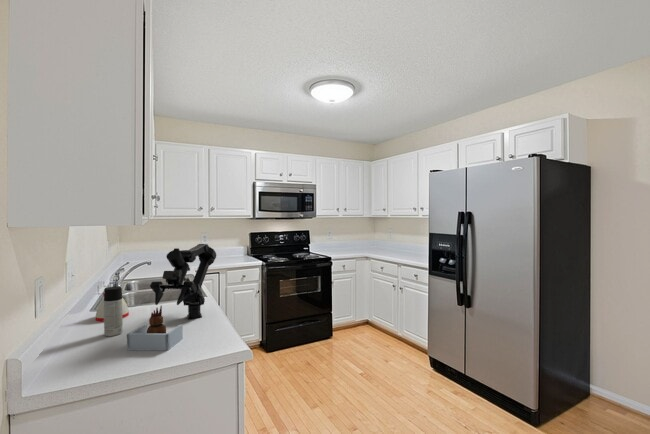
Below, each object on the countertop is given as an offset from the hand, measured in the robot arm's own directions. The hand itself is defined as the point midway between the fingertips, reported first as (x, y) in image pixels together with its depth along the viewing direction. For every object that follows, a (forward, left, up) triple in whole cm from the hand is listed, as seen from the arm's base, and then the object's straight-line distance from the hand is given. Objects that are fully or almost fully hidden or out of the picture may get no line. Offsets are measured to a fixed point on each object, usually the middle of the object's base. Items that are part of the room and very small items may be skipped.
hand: (166, 304), depth 134 cm
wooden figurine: (+7, -4, -14) cm, 16 cm away
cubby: (+7, -4, -13) cm, 15 cm away
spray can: (-14, -21, -14) cm, 29 cm away
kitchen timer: (-42, -25, -14) cm, 51 cm away
